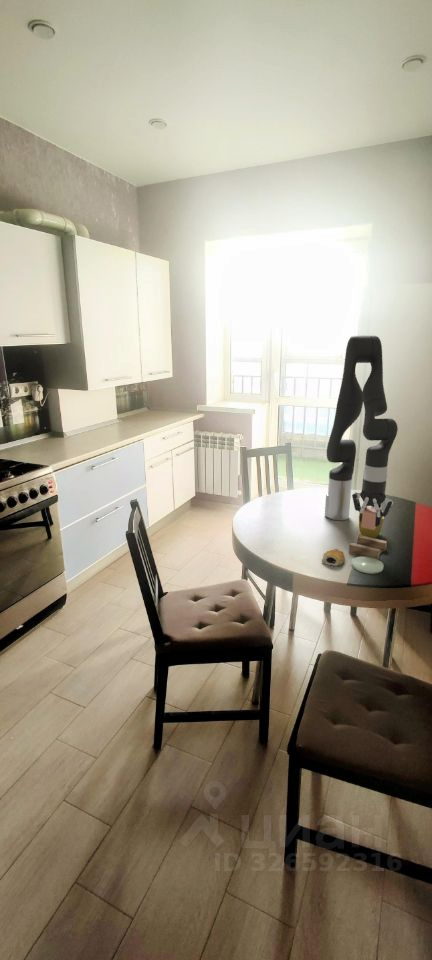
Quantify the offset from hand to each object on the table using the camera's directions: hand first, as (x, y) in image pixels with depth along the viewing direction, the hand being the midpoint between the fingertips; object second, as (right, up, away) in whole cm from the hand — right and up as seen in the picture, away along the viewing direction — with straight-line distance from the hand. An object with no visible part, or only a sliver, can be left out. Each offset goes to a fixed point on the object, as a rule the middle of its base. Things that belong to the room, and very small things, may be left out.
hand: (369, 524), depth 154 cm
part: (0, -1, 0) cm, 1 cm away
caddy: (0, -10, +3) cm, 10 cm away
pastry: (-14, -13, -3) cm, 19 cm away
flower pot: (+5, -6, +16) cm, 18 cm away
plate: (-4, -13, -8) cm, 16 cm away
